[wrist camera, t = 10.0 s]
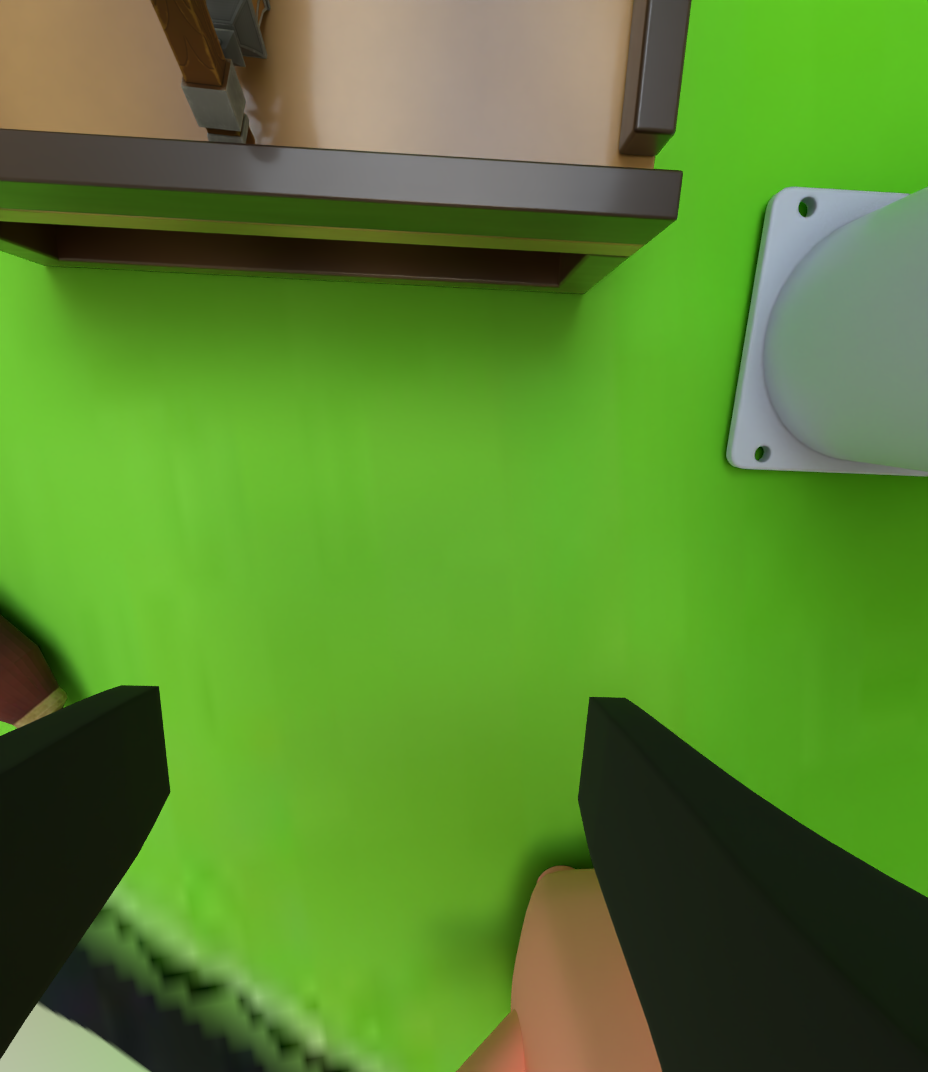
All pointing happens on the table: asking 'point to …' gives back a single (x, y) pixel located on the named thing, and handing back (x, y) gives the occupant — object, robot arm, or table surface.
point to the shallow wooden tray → (348, 142)
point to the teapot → (569, 989)
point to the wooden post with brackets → (214, 58)
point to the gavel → (25, 679)
